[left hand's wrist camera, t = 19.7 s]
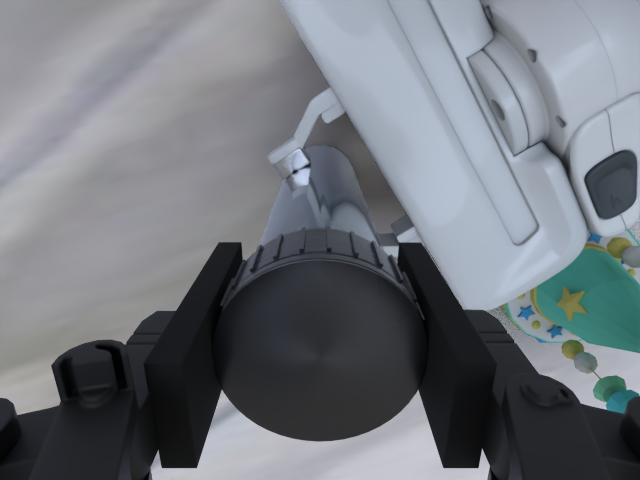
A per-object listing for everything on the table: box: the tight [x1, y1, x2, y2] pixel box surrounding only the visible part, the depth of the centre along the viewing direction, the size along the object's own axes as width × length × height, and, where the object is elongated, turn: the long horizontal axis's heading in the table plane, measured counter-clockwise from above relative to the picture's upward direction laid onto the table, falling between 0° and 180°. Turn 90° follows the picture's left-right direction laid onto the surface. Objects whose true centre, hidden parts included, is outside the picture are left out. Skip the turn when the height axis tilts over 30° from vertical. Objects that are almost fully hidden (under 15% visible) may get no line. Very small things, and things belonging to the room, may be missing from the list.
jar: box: [257, 145, 384, 251], centre depth 20 cm, size 5×5×20 cm
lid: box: [212, 226, 429, 441], centre depth 11 cm, size 6×6×2 cm
